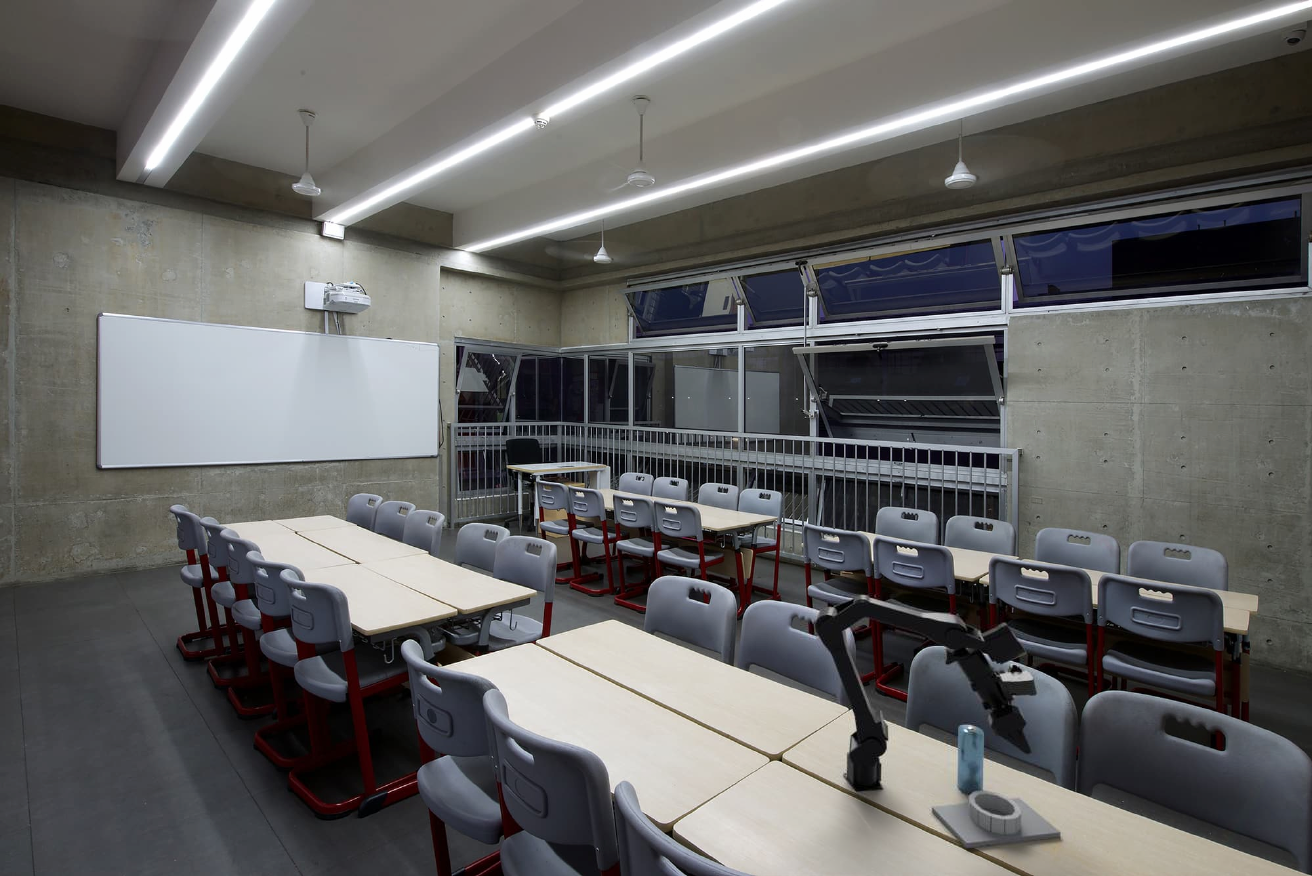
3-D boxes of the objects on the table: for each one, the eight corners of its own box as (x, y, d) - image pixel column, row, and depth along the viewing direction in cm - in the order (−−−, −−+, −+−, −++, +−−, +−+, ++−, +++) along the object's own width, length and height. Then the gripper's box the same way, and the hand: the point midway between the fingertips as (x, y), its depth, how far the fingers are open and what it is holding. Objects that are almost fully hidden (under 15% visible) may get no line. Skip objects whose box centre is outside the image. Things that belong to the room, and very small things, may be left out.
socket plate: (966, 848, 117) (967, 827, 117) (931, 811, 128) (932, 792, 128) (1060, 837, 120) (1060, 817, 120) (1018, 802, 131) (1019, 783, 131)
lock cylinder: (962, 794, 133) (963, 732, 133) (953, 781, 138) (954, 721, 138) (986, 796, 133) (988, 734, 132) (977, 782, 138) (978, 722, 137)
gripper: (1027, 674, 118) (1077, 750, 116) (1007, 641, 136) (1050, 706, 133) (971, 698, 122) (1019, 772, 119) (959, 662, 139) (1001, 726, 137)
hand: (1024, 741), depth 127 cm, fingers open, 9 cm apart
